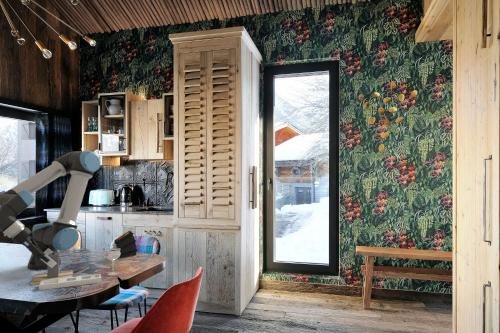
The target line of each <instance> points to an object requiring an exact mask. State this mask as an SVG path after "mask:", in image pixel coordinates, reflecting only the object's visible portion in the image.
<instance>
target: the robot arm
mask: <svg viewBox="0 0 500 333" xmlns="http://www.w3.org/2000/svg"><path fill="white" fill-rule="evenodd" d="M101 164H102V163H101V158H100V156H99V155H98V154H97V153H96V152H94V151H91V150H80V151H79V150H78V151H70V152H68V153H66V154H63V155H62V156H60V157H58V158H57V159H55V160H53V161H52V162H51V164H50V165H49V166H47V167H45V168H43V169H41V171H39V172H37V173H35V174H33V175H31V176H30V177H28V178H27V179H25V180H23V181H22V182H20V183H18V184H17V185H15V186H13V187H12V188H10V189H8V190H6V191H5V192H3V193H0V232H1V233H3V236H4V237H6V236H7V237H8V238H9V239H11V241H13V242H14V243H15V244H17V245H20V244H21V243H22V242H23V243H22V245H23V246H24V247H25V248H26V249H27V250H28V251H29V252H30V253H31V255H30V257H29V259H28V262H27V270H30V271H31V270H33V271H40V270H47V268H48V266H50V267H51V268H53V267H54V266H55V265H56V264H57V263H56V262H55V261H54V260H52V259H51V258H50V257H49V256H48V254H50V253H52V252H55V253H59V251H67V250H70V249H72V248H73V247H75V246H76V244H77V242H78V241H79V239H80V234H79V231H78V223H77V222H76V221H77V218H78V214H79V211H80V208H81V204H82V202H83V199H84V195H85V192H86V188H87V186H88V182H89V180H90V179H92V178H93V175H94V173H95V172H97V171H98V170H99V169H100V167H101ZM68 174H70V175H71V176H70V180H69V182H68V186H67V189H66V192H65V195H64V199H63V201H62V204H61V207H60V210H59V214H58V217H57V219H55V220H53V222H47V223H39V224H34V225H33V226H32V230H31V229H30V228H28V227H27V226H25V224H23V223H22V222H21V221H20V220H18V218H16V217H17V216H19V215H20V214H21V213H22V212H24V211H25V210H26V209H27V208H28V207H30V206H31V205H32V204H33V203H34V202H35V196H34V195H33V194H34V193H36V192H37V191H38V190H41V189H42V188H44V187H45V186H47V185H48V184H50V183H51V182H53V181H54V180H56V179H57V178H59V177H65V176H67V175H68ZM31 234H32V235H31ZM60 257H61V256H59V266H60V265H61V263H62V262H61V260H62V259H61V258H60Z"/></svg>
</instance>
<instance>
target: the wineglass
mask: <svg viewBox="0 0 500 333" xmlns="http://www.w3.org/2000/svg"><path fill="white" fill-rule="evenodd" d="M105 251H106V253H105V256H106V258H107V259H108V260H110V261H111V262H112V264H111V265H112V266H111V267H112V271H111V272H109V273H107V275H108V276H116V275H119V272H116V271H114V270H115V269H114V266H115V261H116V260H117V259H120V258H119V257H120V254H121V253H120V249H119V248H117V247H115V248H114V247H113V248H107V249H105Z"/></svg>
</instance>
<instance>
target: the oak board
mask: <svg viewBox="0 0 500 333" xmlns="http://www.w3.org/2000/svg"><path fill="white" fill-rule="evenodd" d="M73 272H74V270H73V269H70V270H62V271H60V270H59V276H58V277H55V278H47V272H40V273H35V274H34V276H33V278H32V280H31V282H30V287H31V286H39V285H40V282H41V281H43V280H51V279H60V278H68V277H73Z"/></svg>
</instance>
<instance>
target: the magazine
mask: <svg viewBox="0 0 500 333" xmlns="http://www.w3.org/2000/svg"><path fill="white" fill-rule="evenodd" d="M136 242H137V240H136V239H135V236H134V232H133V231H132V230H128V231H127V232H125V233H124V234H122V235H120V236H119V237H117V238H116V239H114V242H113V243H114V244H115V245H116V248H119V249H120V253H121V254H120V257H119V258H118V259H122V258H129V257H133V256H136V255H137V252H138V249H137V244H136Z"/></svg>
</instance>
